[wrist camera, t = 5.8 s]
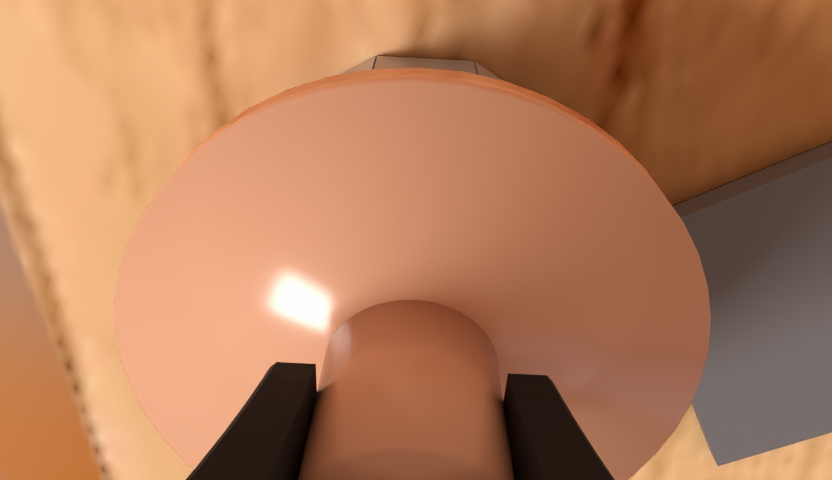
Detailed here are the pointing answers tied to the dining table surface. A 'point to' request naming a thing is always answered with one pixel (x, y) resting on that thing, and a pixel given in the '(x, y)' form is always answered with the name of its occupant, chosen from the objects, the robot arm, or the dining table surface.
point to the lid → (413, 278)
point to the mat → (766, 306)
